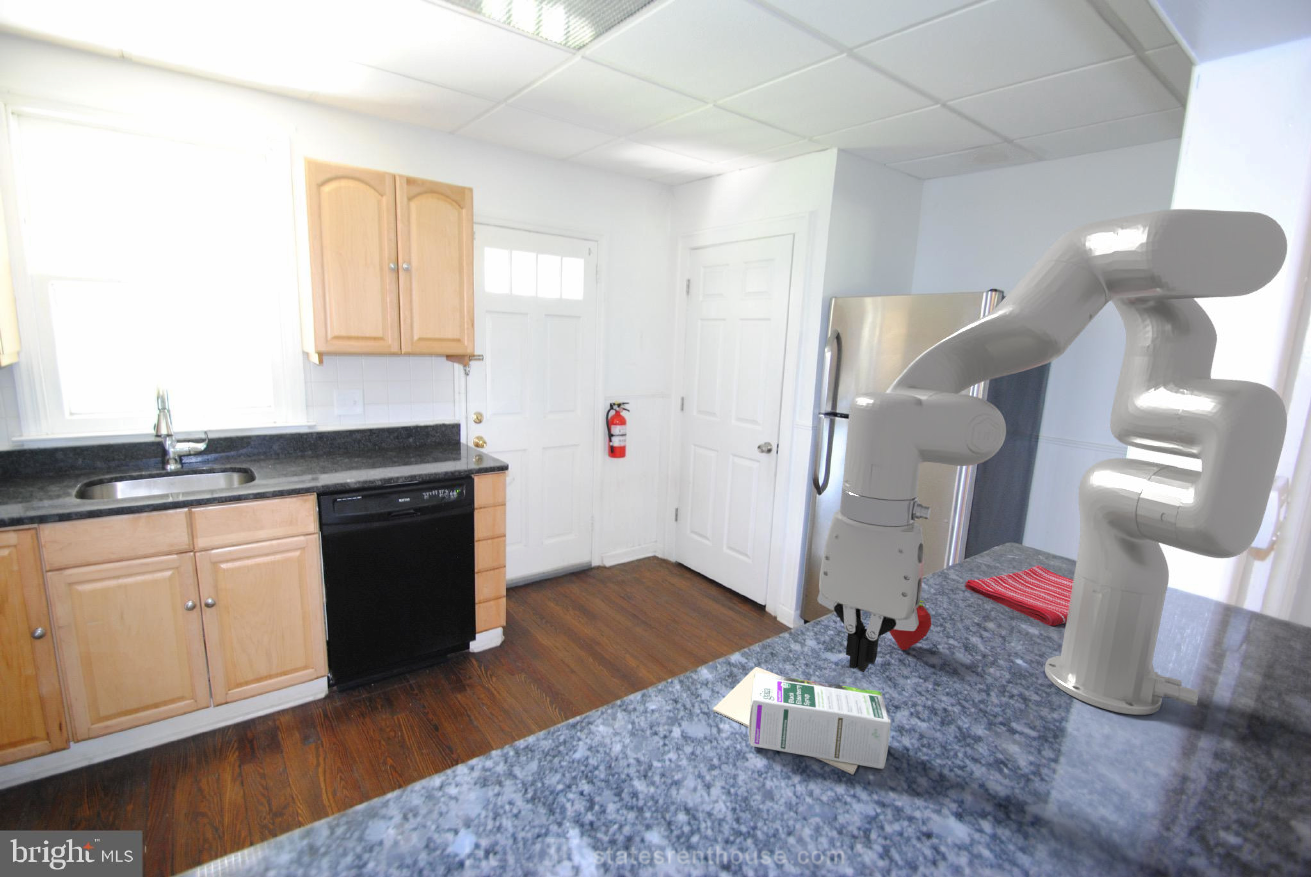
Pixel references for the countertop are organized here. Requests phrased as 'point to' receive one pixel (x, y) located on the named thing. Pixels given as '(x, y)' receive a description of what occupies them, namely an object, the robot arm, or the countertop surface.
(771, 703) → the syrup box
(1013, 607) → the dish towel
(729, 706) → the cream mat
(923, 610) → the strawberry
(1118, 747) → the countertop surface
